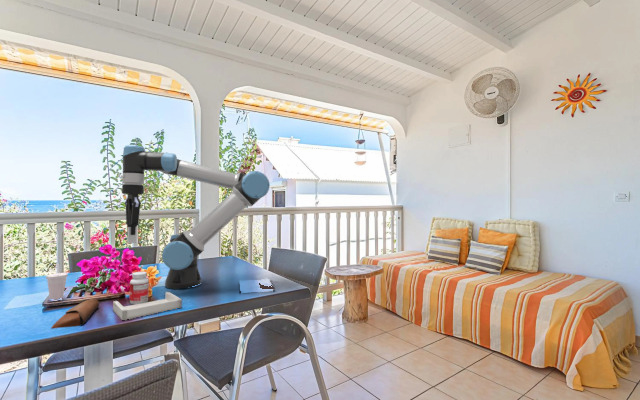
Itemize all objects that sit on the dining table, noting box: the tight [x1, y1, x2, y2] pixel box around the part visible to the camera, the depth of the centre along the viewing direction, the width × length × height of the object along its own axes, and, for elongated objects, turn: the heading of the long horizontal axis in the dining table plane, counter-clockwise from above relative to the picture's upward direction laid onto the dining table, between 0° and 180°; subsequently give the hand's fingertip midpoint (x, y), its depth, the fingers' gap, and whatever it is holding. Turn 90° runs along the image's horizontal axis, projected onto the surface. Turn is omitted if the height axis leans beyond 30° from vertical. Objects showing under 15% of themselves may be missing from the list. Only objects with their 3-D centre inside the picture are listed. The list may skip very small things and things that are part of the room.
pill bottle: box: [129, 271, 150, 305], centre depth 119 cm, size 6×6×11 cm
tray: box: [112, 291, 183, 321], centre depth 112 cm, size 18×13×3 cm
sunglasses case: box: [51, 298, 100, 329], centre depth 103 cm, size 18×7×7 cm
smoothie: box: [45, 262, 69, 300], centre depth 120 cm, size 6×6×14 cm
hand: (131, 243), depth 127 cm, fingers closed
